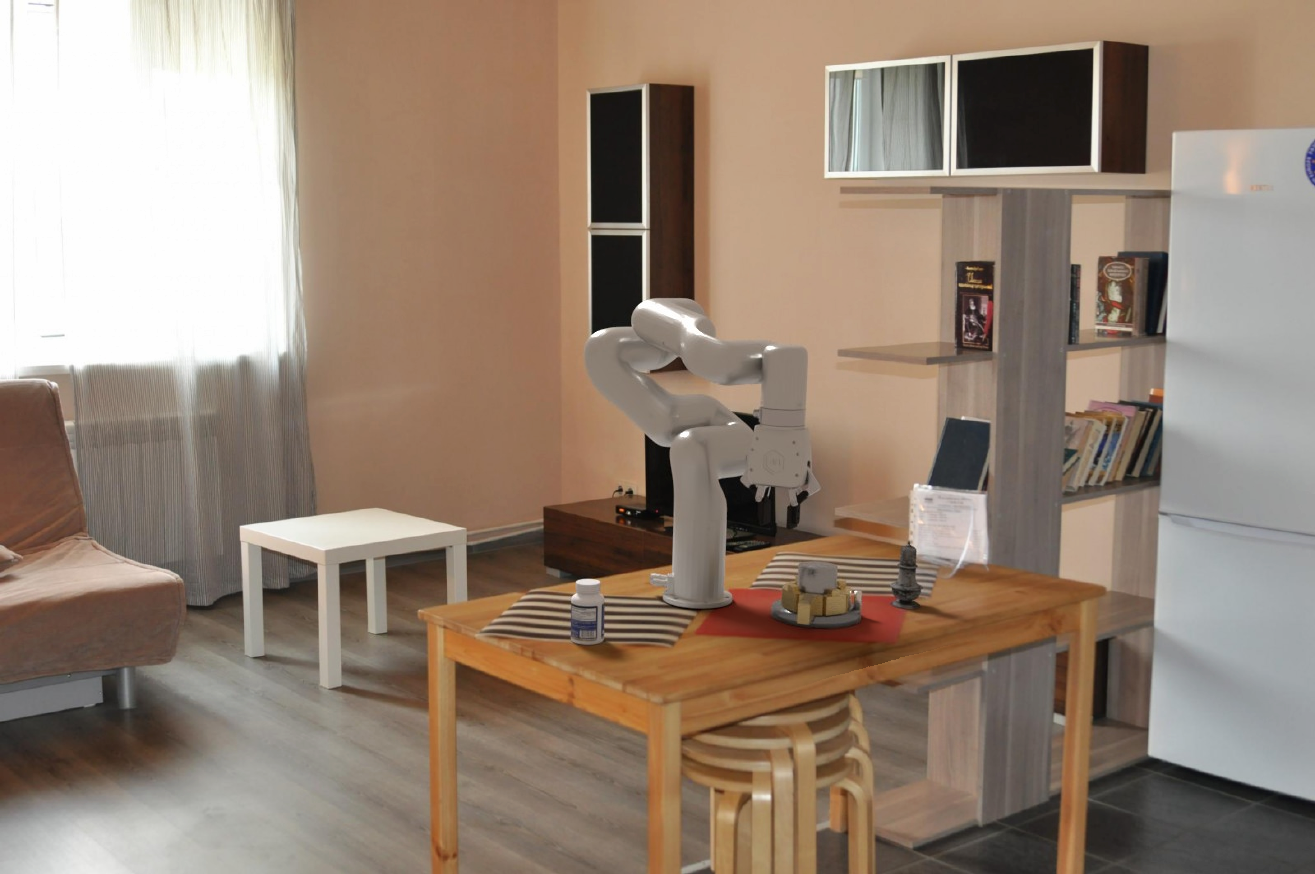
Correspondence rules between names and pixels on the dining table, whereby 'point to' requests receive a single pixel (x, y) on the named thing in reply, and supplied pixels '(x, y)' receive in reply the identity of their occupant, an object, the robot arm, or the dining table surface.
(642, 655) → the dining table surface
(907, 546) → the salt shaker
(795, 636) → the dining table surface
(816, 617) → the spindle base
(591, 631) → the pill bottle
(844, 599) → the ring nut
